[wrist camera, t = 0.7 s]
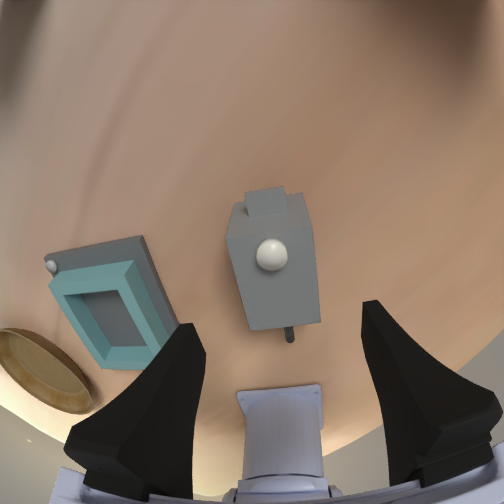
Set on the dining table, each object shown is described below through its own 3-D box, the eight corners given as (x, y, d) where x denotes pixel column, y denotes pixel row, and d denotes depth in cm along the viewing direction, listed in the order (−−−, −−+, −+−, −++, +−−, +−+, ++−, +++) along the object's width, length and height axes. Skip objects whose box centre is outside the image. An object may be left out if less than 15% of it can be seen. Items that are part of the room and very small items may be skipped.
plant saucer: (4, 359, 31) (-4, 372, 29) (-4, 292, 24) (-17, 307, 22) (92, 411, 34) (86, 426, 32) (110, 362, 27) (101, 382, 25)
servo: (315, 316, 23) (324, 370, 18) (262, 322, 23) (261, 377, 19) (299, 172, 17) (311, 206, 13) (230, 183, 18) (217, 220, 13)
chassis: (195, 358, 25) (190, 380, 23) (108, 359, 27) (100, 377, 25) (142, 235, 20) (129, 254, 17) (47, 254, 21) (31, 270, 19)
